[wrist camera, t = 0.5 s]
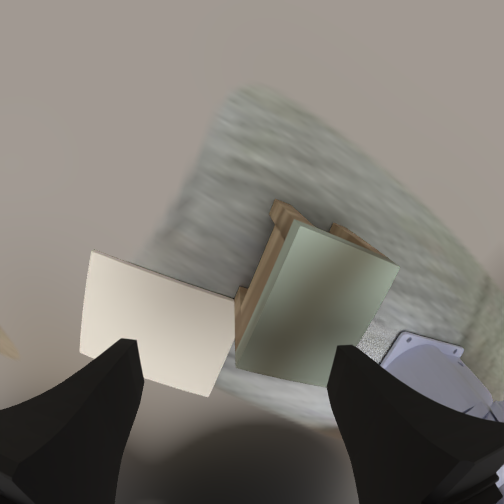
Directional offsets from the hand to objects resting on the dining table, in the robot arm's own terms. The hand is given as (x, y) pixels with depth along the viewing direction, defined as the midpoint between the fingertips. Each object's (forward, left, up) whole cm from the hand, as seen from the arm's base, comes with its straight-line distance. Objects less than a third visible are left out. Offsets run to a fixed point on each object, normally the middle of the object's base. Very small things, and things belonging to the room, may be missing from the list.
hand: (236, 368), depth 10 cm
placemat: (+4, +6, -9) cm, 12 cm away
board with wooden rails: (-3, -2, -9) cm, 10 cm away
